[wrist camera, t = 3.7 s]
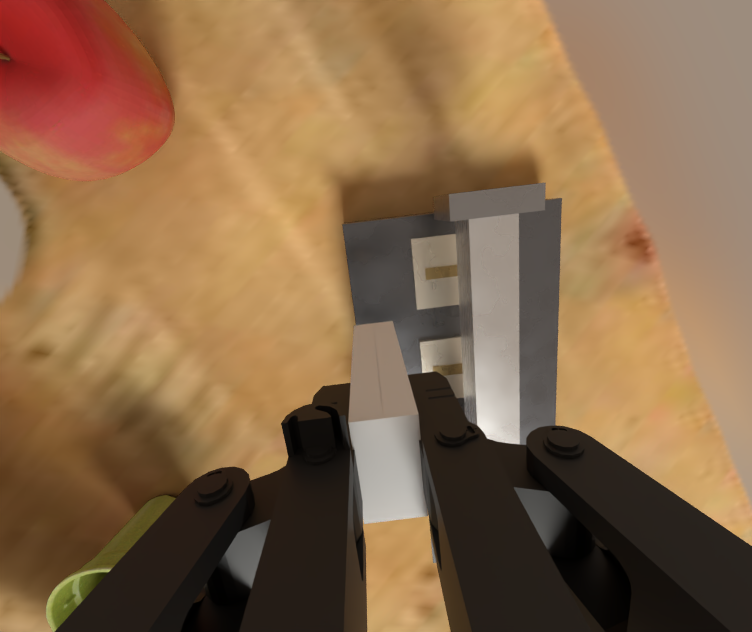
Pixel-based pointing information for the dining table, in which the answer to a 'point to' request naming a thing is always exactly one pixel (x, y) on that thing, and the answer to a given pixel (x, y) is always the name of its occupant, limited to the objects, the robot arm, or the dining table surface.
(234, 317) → the dining table surface
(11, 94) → the apple
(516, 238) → the grey bar
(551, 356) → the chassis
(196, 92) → the dining table surface
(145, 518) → the plant pot
